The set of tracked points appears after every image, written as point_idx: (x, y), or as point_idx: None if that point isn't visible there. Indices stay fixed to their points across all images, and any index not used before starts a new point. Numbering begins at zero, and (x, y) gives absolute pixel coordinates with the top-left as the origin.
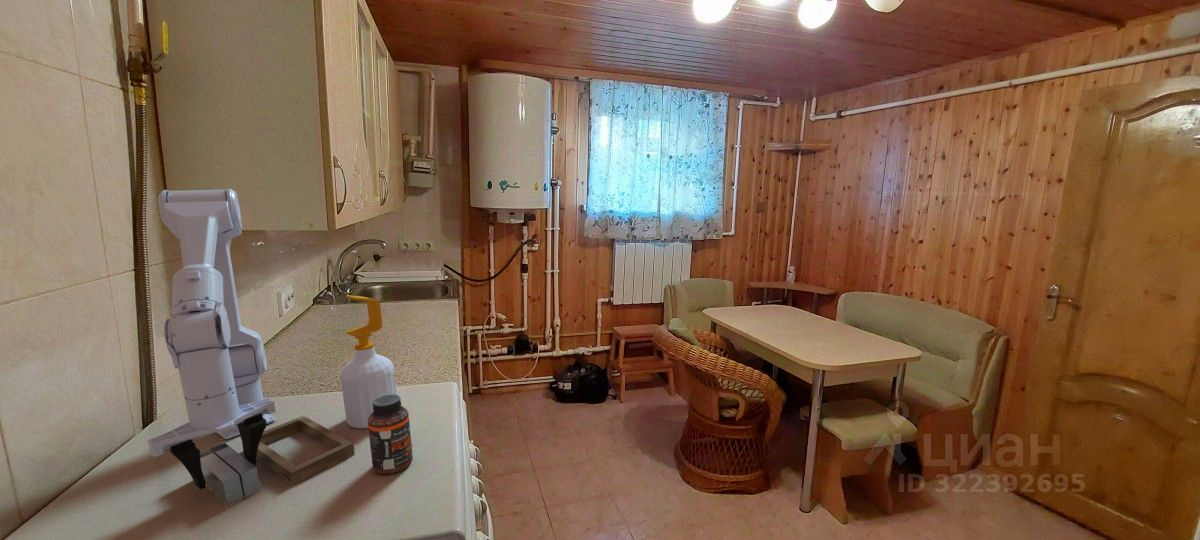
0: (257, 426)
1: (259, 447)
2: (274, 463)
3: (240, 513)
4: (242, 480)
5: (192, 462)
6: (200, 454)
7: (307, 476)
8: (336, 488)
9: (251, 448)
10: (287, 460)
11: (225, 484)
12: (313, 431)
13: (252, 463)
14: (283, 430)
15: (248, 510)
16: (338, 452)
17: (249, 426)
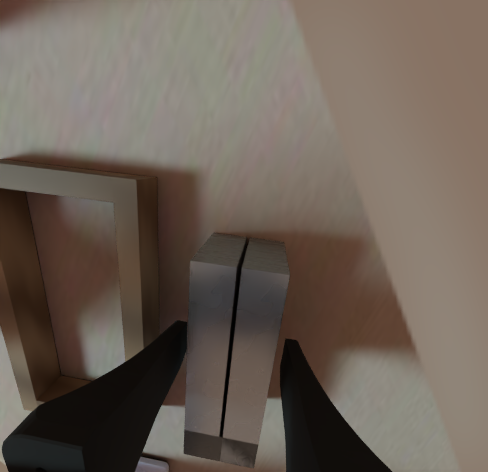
0: (53, 431)
1: None
2: (146, 286)
3: (284, 184)
4: (239, 255)
5: (334, 429)
6: (243, 456)
7: (119, 173)
8: (91, 29)
9: (154, 359)
10: (118, 257)
11: (282, 268)
12: (32, 335)
13: (180, 325)
14: None
15: (269, 177)
16: (7, 163)
17: (77, 462)
